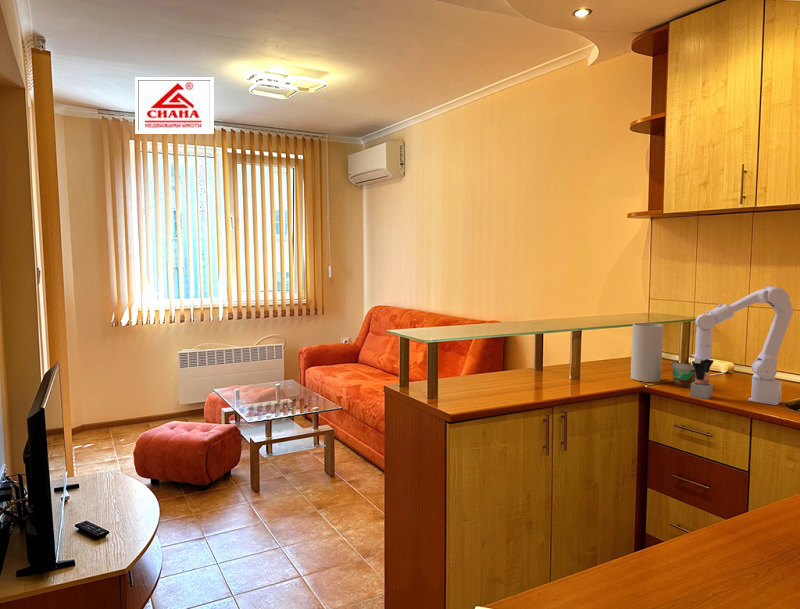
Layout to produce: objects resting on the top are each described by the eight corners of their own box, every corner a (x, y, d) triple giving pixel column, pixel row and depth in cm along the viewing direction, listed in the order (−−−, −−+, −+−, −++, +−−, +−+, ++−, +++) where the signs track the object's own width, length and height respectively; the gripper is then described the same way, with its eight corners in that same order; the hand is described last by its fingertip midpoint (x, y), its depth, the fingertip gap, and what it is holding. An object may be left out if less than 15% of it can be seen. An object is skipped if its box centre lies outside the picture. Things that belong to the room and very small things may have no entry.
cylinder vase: (655, 377, 255) (657, 323, 253) (665, 383, 243) (667, 326, 240) (627, 376, 256) (628, 322, 254) (635, 382, 244) (637, 326, 242)
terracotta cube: (709, 382, 220) (709, 372, 219) (706, 384, 217) (706, 374, 217) (698, 381, 223) (698, 371, 222) (694, 382, 220) (695, 372, 219)
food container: (663, 383, 243) (664, 360, 242) (674, 382, 245) (675, 359, 244) (687, 389, 232) (688, 365, 231) (698, 388, 234) (699, 364, 233)
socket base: (712, 396, 220) (712, 383, 220) (707, 399, 216) (707, 386, 216) (695, 393, 225) (695, 381, 224) (690, 396, 220) (690, 384, 220)
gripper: (698, 341, 226) (696, 374, 228) (686, 345, 216) (684, 380, 217) (717, 343, 222) (715, 376, 223) (706, 347, 211) (704, 382, 212)
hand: (701, 378), depth 220 cm, fingers closed on terracotta cube, 4 cm apart
